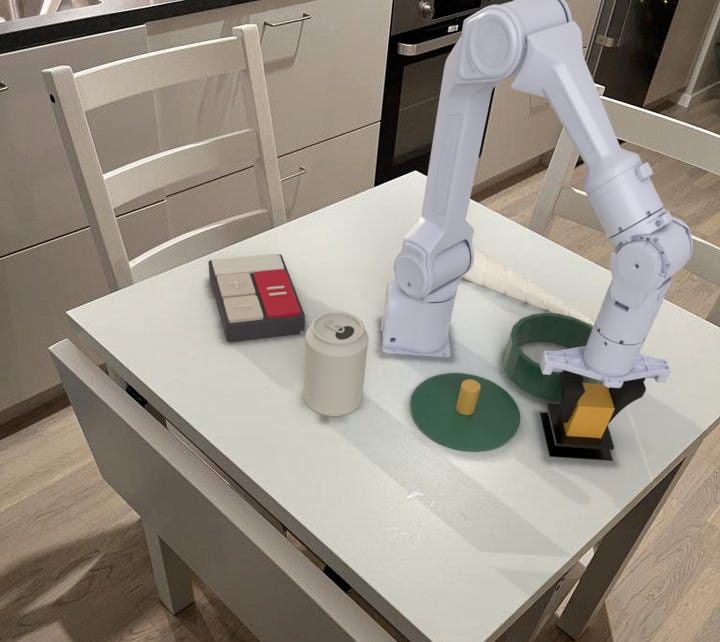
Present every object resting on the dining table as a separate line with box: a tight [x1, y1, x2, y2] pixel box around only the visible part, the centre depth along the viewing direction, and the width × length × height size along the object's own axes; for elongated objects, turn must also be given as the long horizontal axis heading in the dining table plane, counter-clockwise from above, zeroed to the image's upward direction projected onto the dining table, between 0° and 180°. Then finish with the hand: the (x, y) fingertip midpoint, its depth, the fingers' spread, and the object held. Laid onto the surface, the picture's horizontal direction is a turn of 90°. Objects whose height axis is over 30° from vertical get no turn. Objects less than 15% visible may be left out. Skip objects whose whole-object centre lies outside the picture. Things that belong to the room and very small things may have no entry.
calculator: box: [207, 253, 306, 343], centre depth 105 cm, size 11×4×15 cm
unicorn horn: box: [461, 246, 595, 327], centre depth 111 cm, size 5×24×5 cm, turn 54°
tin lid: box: [409, 372, 521, 453], centre depth 93 cm, size 14×14×5 cm
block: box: [563, 383, 615, 438], centre depth 90 cm, size 4×4×5 cm
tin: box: [502, 312, 602, 403], centre depth 100 cm, size 13×13×5 cm
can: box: [303, 310, 369, 417], centre depth 90 cm, size 8×8×12 cm
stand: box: [539, 403, 615, 462], centre depth 93 cm, size 8×8×2 cm
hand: (583, 418), depth 91 cm, fingers closed on block, 4 cm apart
